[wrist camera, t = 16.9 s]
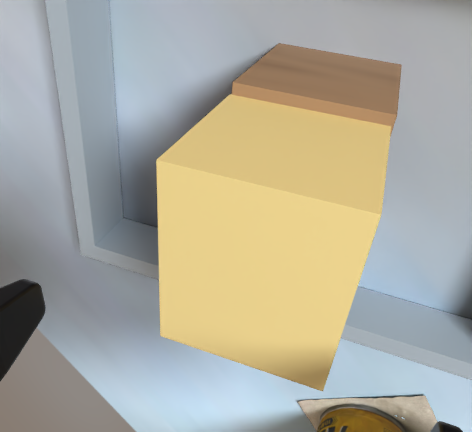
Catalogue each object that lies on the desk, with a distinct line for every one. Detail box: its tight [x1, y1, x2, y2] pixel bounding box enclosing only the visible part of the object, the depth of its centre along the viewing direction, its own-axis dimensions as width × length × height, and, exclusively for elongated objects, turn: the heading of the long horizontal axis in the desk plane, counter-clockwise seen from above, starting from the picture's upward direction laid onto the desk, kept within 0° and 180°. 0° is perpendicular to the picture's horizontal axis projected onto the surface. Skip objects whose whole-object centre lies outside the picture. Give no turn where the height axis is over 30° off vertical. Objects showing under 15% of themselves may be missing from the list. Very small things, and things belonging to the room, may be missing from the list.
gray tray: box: [45, 0, 472, 380], centre depth 19 cm, size 23×18×3 cm
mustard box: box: [156, 94, 391, 391], centre depth 13 cm, size 6×5×5 cm
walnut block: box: [232, 43, 401, 136], centre depth 17 cm, size 7×5×6 cm
